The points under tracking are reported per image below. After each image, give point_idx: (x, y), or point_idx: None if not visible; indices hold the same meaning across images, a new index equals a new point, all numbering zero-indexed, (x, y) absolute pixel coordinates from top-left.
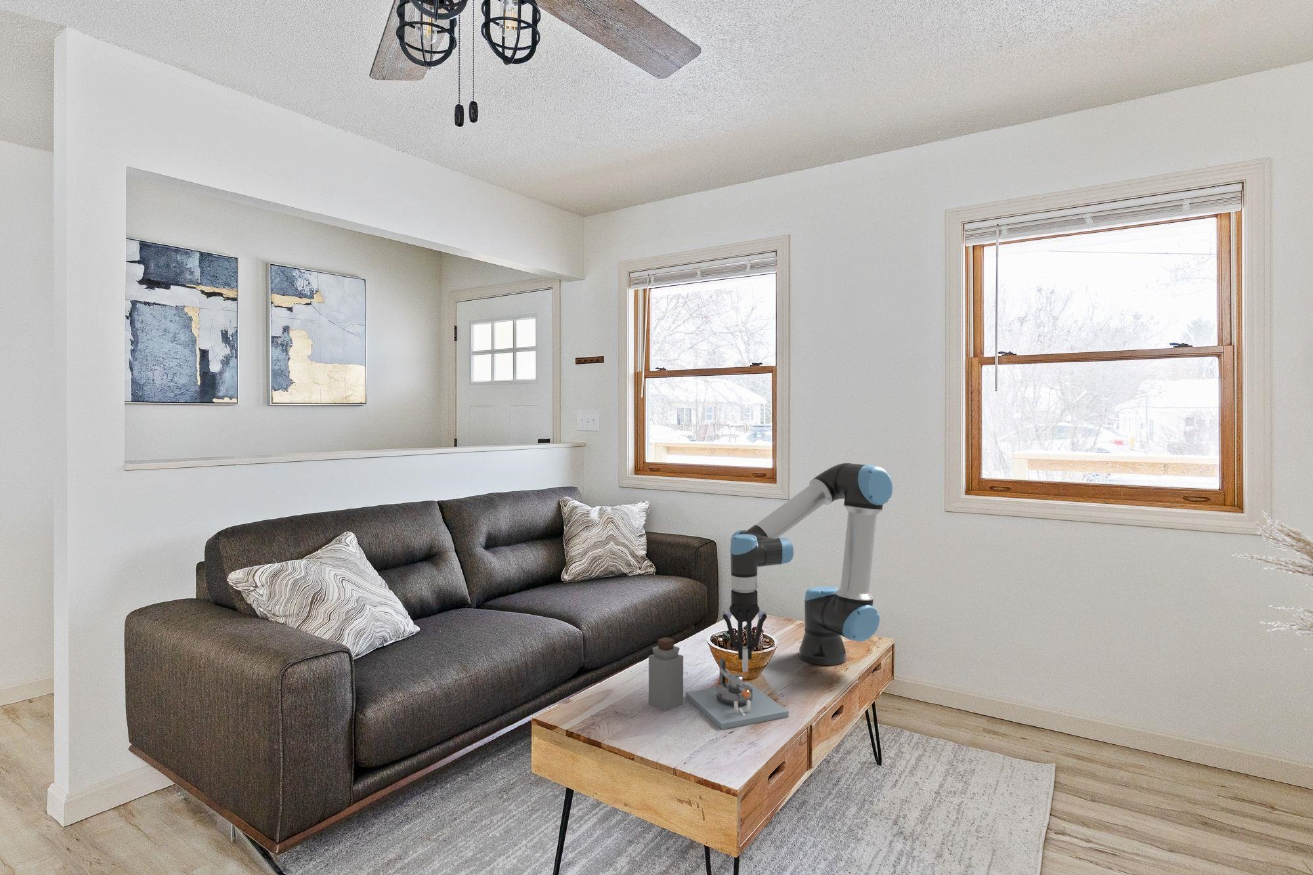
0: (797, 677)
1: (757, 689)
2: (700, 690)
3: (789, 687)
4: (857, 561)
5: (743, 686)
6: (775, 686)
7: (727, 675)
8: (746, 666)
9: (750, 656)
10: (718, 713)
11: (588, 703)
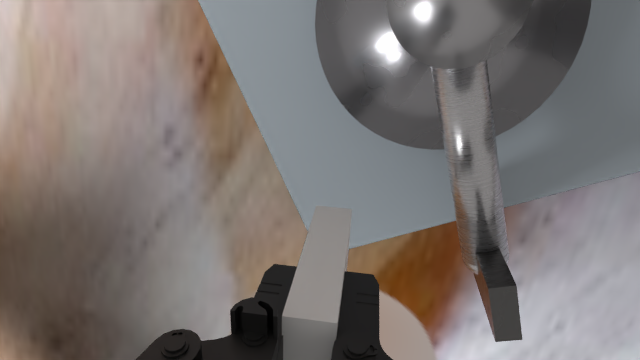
0: (111, 306)
1: (280, 163)
2: (614, 164)
3: (140, 220)
4: None
5: (368, 79)
6: (198, 234)
7: (491, 127)
8: (321, 225)
9: (272, 280)
10: None
11: None
